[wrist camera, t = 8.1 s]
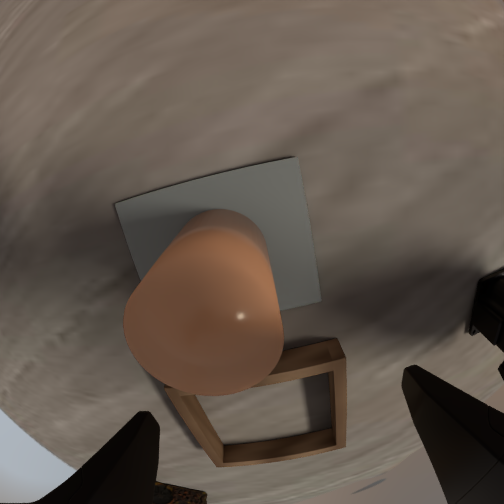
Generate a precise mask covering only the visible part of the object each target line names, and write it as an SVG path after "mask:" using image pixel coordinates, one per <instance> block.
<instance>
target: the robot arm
mask: <svg viewBox="0 0 504 504" xmlns="http://www.w3.org/2000/svg"><path fill="white" fill-rule="evenodd" d="M479 332H481V333H482V334H483V335H484V336H485V337H486V338H487V339H488V340H489V341H490V342H491V343H492V344H493V345H497V346H498V347H499V348H500V349H501V350H502V351H503V352H504V269H503V270H501V271H499V272H496V273H494V274H492V275H489V276H487V277H485V278H482V279H481V280H480V281H479V282H478V286H477V292H476V299H475V304H474V310H473V315H472V320H471V324H470V329H469V334H470V335H471V336H473V335H475V334H477V333H479ZM498 370H499V372H500V374H501V376H502V378H503V380H504V361H503V362H502V364H500V366H499V368H498ZM402 390H403V393H404V396H405V399H406V402H407V405H408V408H409V411H410V414H411V417H412V420H413V423H414V425H415V427H416V429H417V432H418V434H419V436H420V438H421V440H422V443H423V445H424V447H425V449H426V451H427V454H428V456H429V458H430V461H431V463H432V465H433V468H434V470H435V473H436V475H437V477H438V480H439V482H440V485H441V487H442V490H443V492H444V495H445V497H446V500H447V503H448V504H504V413H502V412H500V411H498V410H496V409H494V408H492V407H491V406H488V405H487V404H485V403H483V402H481V401H480V400H478V399H476V398H474V397H472V396H471V395H469V394H467V393H465V392H463V391H462V390H460V389H458V388H456V387H455V386H453V385H451V384H449V383H447V382H446V381H444V380H442V379H440V378H439V377H437V376H435V375H433V374H432V373H430V372H428V371H426V370H425V369H423V368H421V367H419V366H418V365H411V366H408V367H406V368H405V369H404V372H403V378H402ZM159 439H160V426H159V424H158V422H157V421H156V420H155V418H154V417H153V415H152V414H151V413H150V412H149V411H139V412H138V413H137V414H136V415H135V416H134V417H132V418H131V419H130V420H129V421H128V422H127V423H126V424H125V425H124V426H123V427H122V428H121V429H120V430H119V431H118V432H117V433H116V434H115V435H114V436H113V437H112V438H111V439H110V440H109V441H108V442H107V443H106V444H105V445H104V446H103V447H102V448H101V449H100V450H99V451H98V452H97V453H95V454H94V455H93V456H92V457H91V458H90V459H89V460H88V461H87V462H86V463H85V464H84V465H83V466H82V468H79V469H78V470H77V471H76V472H75V473H74V474H73V475H72V476H71V477H70V478H68V479H67V480H66V481H65V482H63V483H62V484H61V485H60V486H58V487H57V488H56V489H54V490H53V491H51V492H50V493H48V494H47V495H46V496H44V497H43V498H41V499H40V500H37V501H35V502H31V503H0V504H153V497H154V490H155V483H156V476H157V470H158V462H159Z"/></svg>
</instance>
